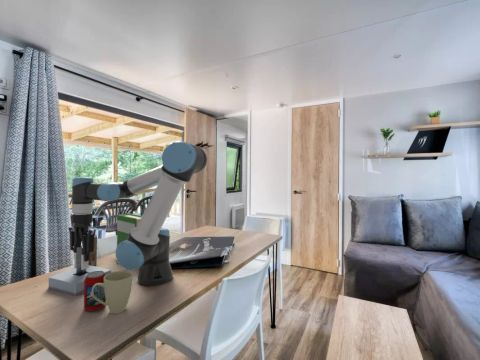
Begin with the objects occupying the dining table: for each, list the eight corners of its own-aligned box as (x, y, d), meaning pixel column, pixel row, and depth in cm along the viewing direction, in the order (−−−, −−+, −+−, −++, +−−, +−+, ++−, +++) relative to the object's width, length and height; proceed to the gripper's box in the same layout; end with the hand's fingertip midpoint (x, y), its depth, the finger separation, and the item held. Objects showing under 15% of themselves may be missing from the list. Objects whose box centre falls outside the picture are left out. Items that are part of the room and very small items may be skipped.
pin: (88, 278, 105) (88, 246, 105) (79, 281, 101) (80, 248, 101) (82, 276, 106) (82, 245, 106) (73, 280, 103) (74, 247, 102)
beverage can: (89, 314, 81) (90, 279, 81) (79, 308, 85) (80, 274, 84) (109, 306, 87) (110, 272, 87) (99, 300, 90) (100, 268, 90)
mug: (117, 300, 91) (118, 268, 91) (137, 306, 87) (138, 273, 87) (89, 315, 81) (90, 279, 81) (110, 323, 77) (111, 285, 77)
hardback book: (146, 259, 136) (147, 216, 135) (134, 263, 130) (135, 218, 129) (128, 253, 146) (129, 213, 145) (116, 256, 140) (117, 214, 139)
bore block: (110, 279, 108) (111, 269, 108) (75, 295, 93) (75, 284, 93) (85, 274, 114) (85, 264, 114) (48, 288, 99) (48, 277, 99)
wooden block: (96, 264, 127) (97, 229, 127) (90, 271, 117) (91, 234, 117) (88, 264, 126) (89, 230, 126) (82, 272, 116) (82, 235, 115)
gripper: (104, 213, 104) (103, 267, 104) (77, 210, 110) (76, 262, 110) (88, 216, 97) (86, 274, 97) (60, 212, 103) (59, 267, 103)
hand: (81, 267), depth 104 cm, fingers closed on pin, 3 cm apart
